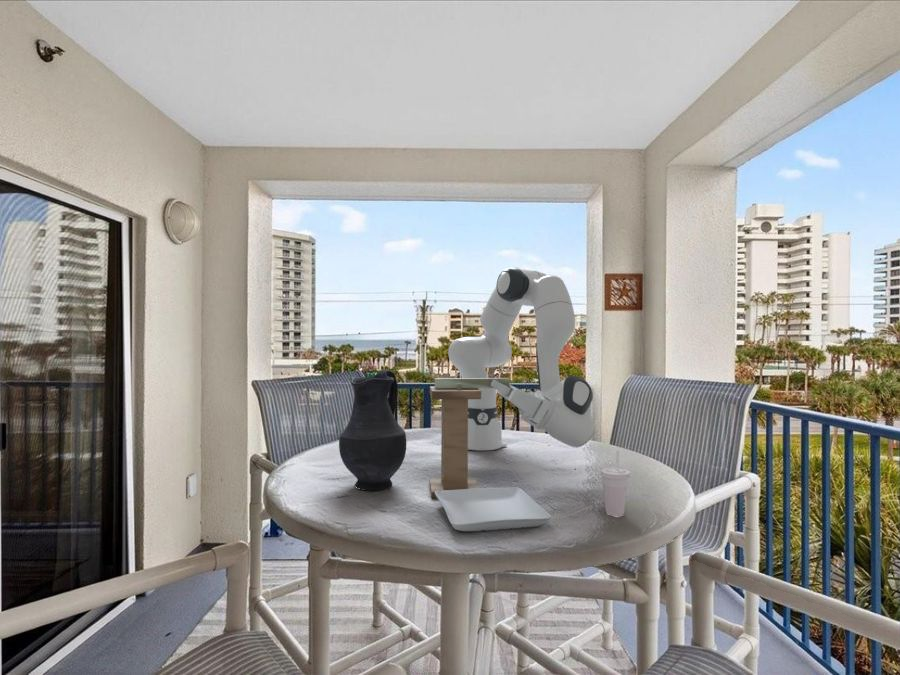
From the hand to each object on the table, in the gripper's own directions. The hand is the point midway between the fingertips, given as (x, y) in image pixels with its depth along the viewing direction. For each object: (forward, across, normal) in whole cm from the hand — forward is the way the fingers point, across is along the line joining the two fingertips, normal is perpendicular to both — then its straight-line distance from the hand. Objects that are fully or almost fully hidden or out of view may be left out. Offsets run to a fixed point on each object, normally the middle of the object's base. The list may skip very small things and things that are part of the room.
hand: (490, 381), depth 132 cm
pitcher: (+11, -7, +39) cm, 41 cm away
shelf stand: (-6, 0, +29) cm, 29 cm away
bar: (+3, 0, +4) cm, 5 cm away
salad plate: (-11, +19, +26) cm, 34 cm away
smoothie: (-36, +20, +12) cm, 42 cm away
